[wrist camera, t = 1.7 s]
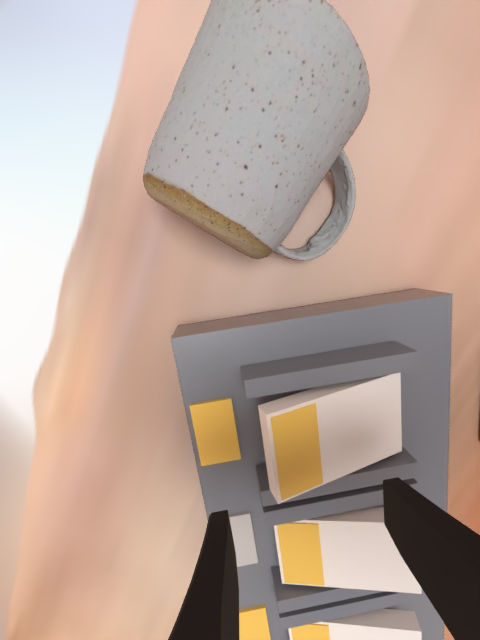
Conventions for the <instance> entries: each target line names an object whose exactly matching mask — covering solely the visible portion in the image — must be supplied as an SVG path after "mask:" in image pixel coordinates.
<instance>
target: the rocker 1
mask: <svg viewBox="0 0 480 640" xmlns="http://www.w3.org/2000/svg"><path fill="white" fill-rule="evenodd" d="M258 410H259V417H260V424H261V431H262V438H263V445H264V452H265V459H266V466H267V473H268V480H269V487H270V491H271V493H272V494H273V496H274V498H275V500H276V501H277V503H278V504H280V503H282V502H284V501H287V500H289V499H291V498H294V497H296V496H298V495H301V494H303V493H305V492H308V491H310V490H312V489H315V488H317V487H319V486H322V485H324V484H326V483H329V482H331V481H333V480H336V479H338V478H340V477H343V476H345V475H347V474H350V473H352V472H354V471H357V470H359V469H361V468H364V467H366V466H368V465H371V464H373V463H375V462H378V461H380V460H382V459H385V458H387V457H389V456H392V455H394V454H396V453H399V452H401V451H402V428H401V373H395V374H389V375H383V376H378V377H372V378H366V379H360V380H354V381H348V382H343V383H337V384H331V385H325V386H319V387H316V388H312V389H309V390H306V391H303V392H299V393H296V394H293V395H290V396H287V397H283V398H280V399H277V400H274V401H271V402H267V403H264V404H261V405H258Z"/></svg>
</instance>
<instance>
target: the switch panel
mask: <svg viewBox="0 0 480 640" xmlns="http://www.w3.org/2000/svg"><path fill="white" fill-rule="evenodd" d="M451 324H452V294H450V293H443V292H436V291H430V290H423V289H409V290H403V291H397V292H390V293H384V294H378V295H371V296H365V297H358V298H352V299H346V300H339V301H333V302H326V303H320V304H314V305H307V306H301V307H295V308H288V309H282V310H275V311H269V312H263V313H256V314H250V315H244V316H237V317H231V318H224V319H218V320H212V321H205V322H199V323H192V324H186V325H180V326H178V327H177V329H176V330H175V332H174V334H173V335H172V337H171V342H172V347H173V352H174V357H175V362H176V366H177V371H178V376H179V381H180V386H181V391H182V396H183V401H184V406H185V410H186V415H187V420H188V425H189V430H190V435H191V440H192V445H193V450H194V454H195V459H196V464H197V469H198V474H199V479H200V484H201V489H202V494H203V498H204V503H205V508H206V513H207V518H208V519H209V515H210V514H211V513H213V512H218V511H223V510H228V513H229V519H230V524H231V530H232V535H233V541H234V546H235V551H236V561H237V572H238V584H239V640H290V636H289V628H294V627H298V626H303V625H308V624H313V623H317V622H322V621H327V620H331V619H336V618H341V617H345V616H350V615H355V614H359V613H364V612H369V611H373V610H378V609H395V610H406V611H414V612H415V614H416V617H417V620H418V623H419V626H420V629H421V631H422V640H444V622H443V620H442V619H441V617H440V616H439V614H438V613H437V611H436V610H435V608H434V606H433V605H432V603H431V602H430V600H429V599H428V597H427V596H426V594H425V593H424V591H423V589H422V594H415V593H402V592H388V591H375V590H362V589H348V588H335V587H322V586H308V585H295V584H282V580H281V573H280V566H279V559H278V552H277V545H276V538H275V531H274V526H275V525H280V524H285V523H290V522H296V521H301V520H306V519H311V518H316V517H321V516H326V515H331V514H337V513H342V512H347V511H352V510H357V509H362V508H367V507H384V502H383V480H386V479H391V478H396V477H399V478H400V479H401V480H403V481H404V482H405V483H407V484H408V485H410V486H411V487H412V488H414V489H415V490H416V491H418V492H419V493H420V494H422V495H423V496H424V497H426V498H427V499H429V500H430V501H431V502H433V503H434V504H435V505H437V506H438V507H440V508H441V509H442V510H444V511H445V512H447V492H448V450H449V408H450V366H451ZM395 373H401V428H402V451H401V452H399V453H396V454H394V455H392V456H389V457H387V458H385V459H382V460H380V461H378V462H375V463H373V464H371V465H368V466H366V467H364V468H361V469H359V470H357V471H354V472H352V473H350V474H347V475H345V476H343V477H340V478H338V479H336V480H333V481H331V482H329V483H326V484H324V485H322V486H319V487H317V488H315V489H312V490H310V491H308V492H305V493H303V494H301V495H298V496H296V497H294V498H291V499H289V500H287V501H284V502H282V503H280V504H278V503H277V501H276V500H275V498H274V496H273V494H272V493H271V491H270V487H269V480H268V473H267V466H266V459H265V452H264V445H263V438H262V431H261V424H260V417H259V410H258V405H261V404H264V403H267V402H271V401H274V400H277V399H280V398H283V397H287V396H290V395H293V394H296V393H299V392H303V391H306V390H309V389H312V388H316V387H319V386H325V385H331V384H337V383H343V382H348V381H354V380H360V379H366V378H372V377H378V376H383V375H389V374H395Z"/></svg>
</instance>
